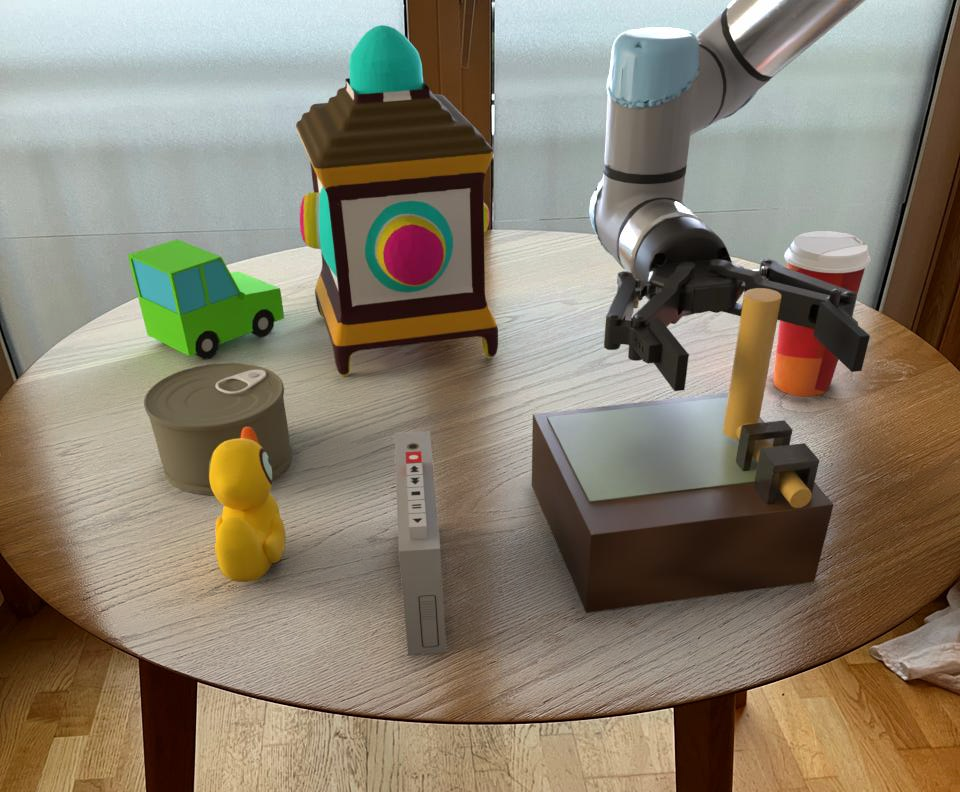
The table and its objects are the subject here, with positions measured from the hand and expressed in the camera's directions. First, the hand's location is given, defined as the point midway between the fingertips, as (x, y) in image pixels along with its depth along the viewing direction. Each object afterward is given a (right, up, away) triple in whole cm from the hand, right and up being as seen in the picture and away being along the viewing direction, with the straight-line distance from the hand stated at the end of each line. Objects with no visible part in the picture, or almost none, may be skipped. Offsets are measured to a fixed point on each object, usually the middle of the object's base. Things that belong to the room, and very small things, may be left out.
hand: (772, 363), depth 71 cm
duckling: (-39, -14, +8) cm, 42 cm away
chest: (-6, -11, +10) cm, 16 cm away
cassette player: (-25, -16, +5) cm, 30 cm away
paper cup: (+11, +6, +30) cm, 32 cm away
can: (-44, -4, +20) cm, 48 cm away
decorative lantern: (-29, +14, +40) cm, 52 cm away
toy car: (-50, +14, +41) cm, 66 cm away
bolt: (0, -7, +4) cm, 7 cm away
